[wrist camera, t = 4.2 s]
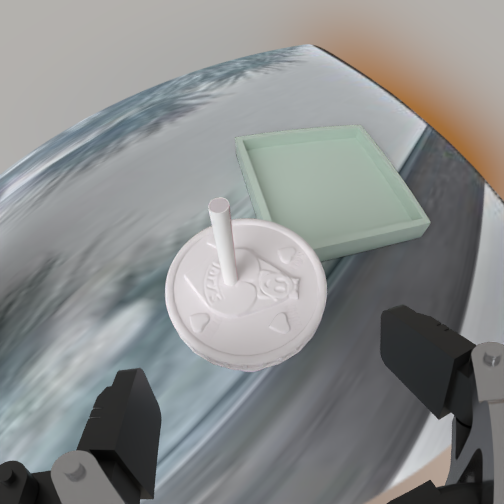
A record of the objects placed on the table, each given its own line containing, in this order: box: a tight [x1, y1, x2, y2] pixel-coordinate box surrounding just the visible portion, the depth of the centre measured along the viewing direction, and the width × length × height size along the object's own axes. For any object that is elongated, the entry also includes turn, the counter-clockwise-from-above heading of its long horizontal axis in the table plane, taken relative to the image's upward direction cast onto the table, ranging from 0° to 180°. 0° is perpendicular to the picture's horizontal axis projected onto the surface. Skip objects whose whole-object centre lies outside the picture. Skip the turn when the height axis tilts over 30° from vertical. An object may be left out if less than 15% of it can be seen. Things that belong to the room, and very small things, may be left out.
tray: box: [235, 125, 431, 262], centre depth 26 cm, size 14×14×2 cm
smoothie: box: [165, 197, 327, 372], centre depth 14 cm, size 6×6×14 cm
